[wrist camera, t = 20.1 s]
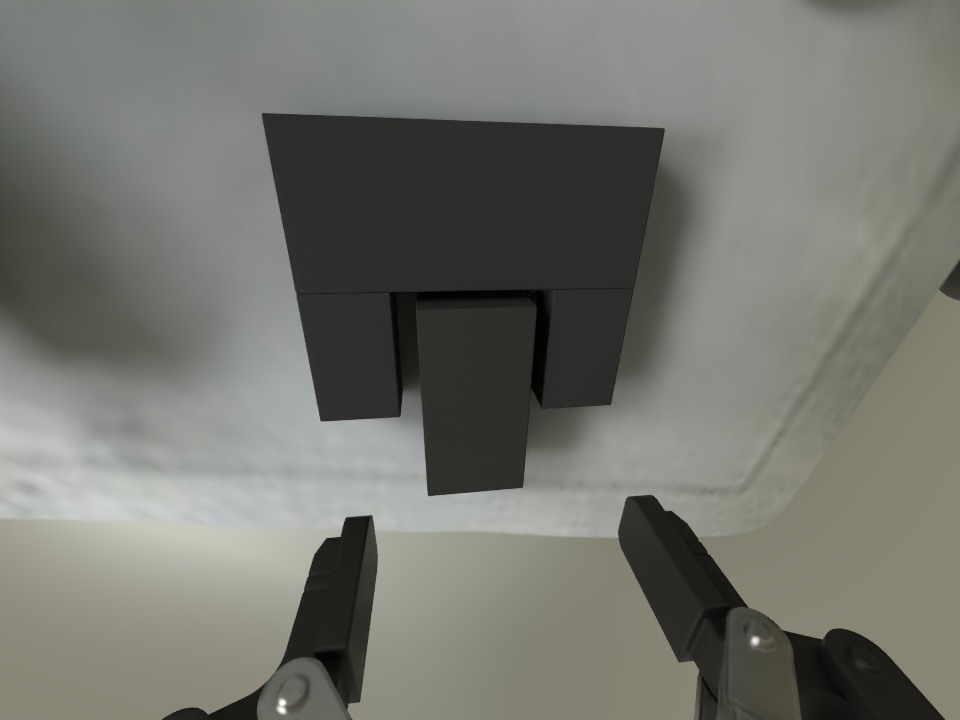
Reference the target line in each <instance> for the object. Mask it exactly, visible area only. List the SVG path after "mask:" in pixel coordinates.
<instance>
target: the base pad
mask: <svg viewBox="0 0 960 720" xmlns="http://www.w3.org/2000/svg"><path fill="white" fill-rule="evenodd" d="M262 119H263V124H264V129H265V135H266V140H267V145H268V150H269V155H270V161H271V166H272V171H273V176H274V181H275V187H276V192H277V197H278V202H279V207H280V213H281V218H282V223H283V228H284V233H285V239H286V244H287V249H288V254H289V259H290V265H291V270H292V275H293V280H294V285H295V291H296V293H297V295H296V296H297V301H298V306H299V311H300V316H301V322H302V327H303V332H304V337H305V342H306V348H307V353H308V358H309V363H310V368H311V374H312V379H313V384H314V389H315V394H316V400H317V405H318V410H319V415H320V420H321V421H338V420H356V419H373V418H391V417H400V415H401V405H402V394H403V386H402V373H401V360H400V347H399V334H398V321H397V309H396V296H395V292H430V291H488V290H538V293H537V305H536V306H537V316H536V329H535V342H534V354H533V367H532V380H531V388H532V390H533V392H534V394H535V396H536V398H537V400H538V402H539V404H540V406H541V408H542V409H547V408H564V407H582V406H600V405H610V404H611V401H612V396H613V391H614V385H615V380H616V375H617V370H618V365H619V360H620V355H621V350H622V345H623V339H624V334H625V329H626V324H627V319H628V314H629V309H630V304H631V299H632V294H633V288H634V284H635V279H636V274H637V269H638V264H639V259H640V254H641V249H642V244H643V238H644V233H645V228H646V223H647V218H648V213H649V208H650V203H651V198H652V193H653V187H654V182H655V177H656V172H657V167H658V162H659V157H660V152H661V147H662V142H663V136H664V131H665V129H664V128H644V127H617V126H591V125H564V124H538V123H511V122H484V121H458V120H431V119H404V118H378V117H351V116H324V115H298V114H271V113H263V114H262Z"/></svg>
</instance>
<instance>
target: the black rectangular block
mask: <svg viewBox="0 0 960 720" xmlns="http://www.w3.org/2000/svg"><path fill="white" fill-rule="evenodd" d="M536 316H537V306H536V305H535V303H534V302H533V301H532V300H531V299H530V297H529V296H528V295H527V294H526V293H525V291H524V290H488V291H430V292H417V300H416V320H417V335H418V351H419V366H420V382H421V397H422V413H423V428H424V444H425V459H426V475H427V490H428V496H435V495H446V494H457V493H469V492H480V491H491V490H502V489H513V488H523V482H524V469H525V456H526V444H527V431H528V418H529V405H530V393H531V380H532V367H533V354H534V342H535V329H536Z"/></svg>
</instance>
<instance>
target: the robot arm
mask: <svg viewBox="0 0 960 720" xmlns="http://www.w3.org/2000/svg"><path fill="white" fill-rule="evenodd" d="M618 536H619V542H620V546H621V548H622V551H623V553H624V555H625V557H626V559H627V561H628V563H629V564H630V567H631V568H632V571H633V572H634V575H635V577H636V579H637V580H638V582H639V584H640V586H641V588H642V590H643V592H644V594H645V596H646V598H647V600H648V602H649V604H650V606H651V608H652V610H653V612H654V614H655V616H656V618H657V620H658V622H659V624H660V626H661V628H662V630H663V632H664V634H665V636H666V638H667V640H668V642H669V644H670V646H671V647H672V650H673V652H674V654H675V656H676V657H677V660H678V661H679V662H687V661H694V662H695V663H696V665H697V667H698V669H699V674H698V677H697V689H696V703H695V704H696V705H695V716H694V720H945V719H944V718H943V717H942V716H941V714H940V713H939V712H938V711H937V710H936V709H935V708H934V706H933V705H932V704H931V703H930V702H929V701H928V700H927V699H926V698H925V696H924V695H923V694H922V693H921V692H920V691H919V690H918V689H917V687H916V686H915V685H914V684H913V683H912V682H911V681H910V679H909V678H908V677H907V676H906V675H905V674H904V673H903V672H902V670H901V669H900V668H899V667H898V666H897V665H896V664H895V663H894V662H893V660H892V659H891V658H890V657H889V656H888V655H887V654H886V653H885V652H884V651H883V650H882V649H881V648H879V647H878V646H877V645H876V644H874V643H873V642H871V641H870V640H868V639H867V638H865V637H863V636H862V635H860V634H857V633H855V632H853V631H849V630H845V629H832V630H830V631H829V632H828V633H827V634H826V636H825V637H824V639H823V640H822V639H818V638H813V637H809V636H804V635H800V634H796V633H791V632H787V631H784V630H782V629H781V628H780V627H779V626H778V625H777V624H776V623H775V622H774V621H773V620H771V619H770V618H769V617H767V616H766V615H764V614H762V613H760V612H759V611H756V610H754V609H751V608H749V607H748V606H747V605H746V604H745V602H744V601H743V600H742V598H741V597H740V596H739V594H738V593H737V591H736V590H735V589H734V587H733V586H732V585H731V583H730V582H729V580H728V579H727V578H726V576H725V575H724V574H723V573H722V571H721V569H720V568H719V567H718V565H717V564H716V563H715V561H714V560H713V558H712V557H711V556H710V555H708V553H707V550H706V549H705V547H704V546H703V545H702V543H701V542H699V541H698V538H697V536H696V535H695V534H694V532H693V531H692V530H691V528H690V527H689V525H688V524H687V523H686V522H685V521H683V520H682V519H681V518H680V517H678V516H677V515H676V514H675V513H673V512H672V511H665V510H664V509H663V507H662V506H661V505H660V503H659V502H658V500H657V499H656V498H655V497H654V496H653V495H643V496H630V497H628V498H627V499H626V502H625V506H624V510H623V514H622V518H621V521H620V525H619V530H618ZM377 562H378V554H377V544H376V537H375V530H374V522H373V517H372V515H369V516H356V517H346V519H345V521H344V525H343V529H342V534H341V537H335V538H326V540H325V541H324V542H323V544H322V545H321V546H320V548H319V549H318V550H317V552H316V553H315V555H314V558H313V561H312V564H311V568H310V571H309V577H308V578H307V581H306V584H305V588H304V593H303V595H302V598H301V601H300V605H299V608H298V612H297V615H296V618H295V622H294V625H293V628H292V632H291V635H290V639H289V642H288V646H287V649H286V652H285V655H284V657H283V660H282V662H281V664H280V665H279V667H278V668H277V670H276V671H275V673H274V674H273V675H272V676H271V677H270V679H269V680H268V681H267V682H266V683H265V684H264V685H263V686H262V687H260V688H259V689H258V690H256V691H255V692H254V693H252V694H250V695H249V696H247V697H245V698H243V699H241V700H238V701H236V702H234V703H232V704H230V705H228V706H226V707H224V708H221V709H219V710H217V711H215V712H213V713H211V714H209V715H208V714H207V713H206V712H205V711H203V710H202V709H199V708H193V707H192V708H185V709H181V710H179V711H176V712H174V713H172V714H170V715H168V716H167V717H165V718H164V719H162V720H352V718H351V716H350V715H349V713H348V711H347V709H348V704H350V703H357V702H360V698H361V691H362V683H363V675H364V667H365V660H366V652H367V644H368V636H369V629H370V621H371V613H372V605H373V598H374V590H375V582H376V574H377Z"/></svg>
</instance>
